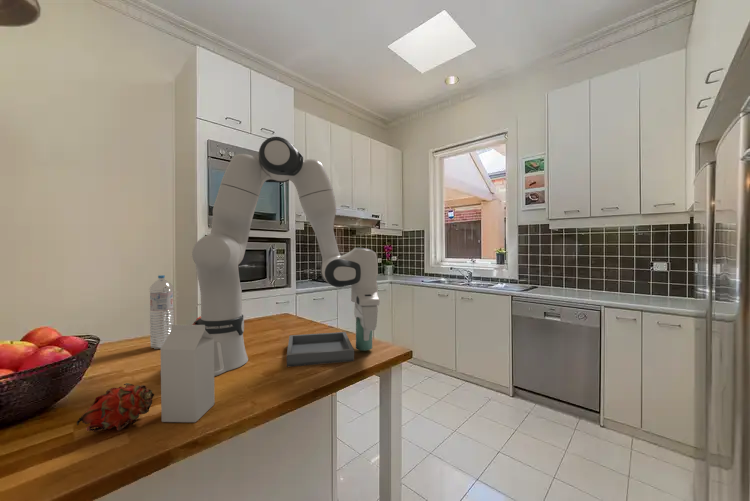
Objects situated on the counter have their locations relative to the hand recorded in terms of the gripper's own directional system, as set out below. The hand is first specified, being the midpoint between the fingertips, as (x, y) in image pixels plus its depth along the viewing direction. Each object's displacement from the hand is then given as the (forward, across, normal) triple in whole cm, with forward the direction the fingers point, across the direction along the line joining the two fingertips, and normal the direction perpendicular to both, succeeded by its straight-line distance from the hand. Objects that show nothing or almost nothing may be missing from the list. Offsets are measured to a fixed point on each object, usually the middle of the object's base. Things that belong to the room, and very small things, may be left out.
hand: (364, 336), depth 104 cm
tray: (+5, -2, -15) cm, 16 cm away
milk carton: (+6, +29, -44) cm, 53 cm away
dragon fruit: (+6, +31, -56) cm, 64 cm away
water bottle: (+6, -21, -68) cm, 71 cm away
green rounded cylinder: (+4, 0, 0) cm, 4 cm away
